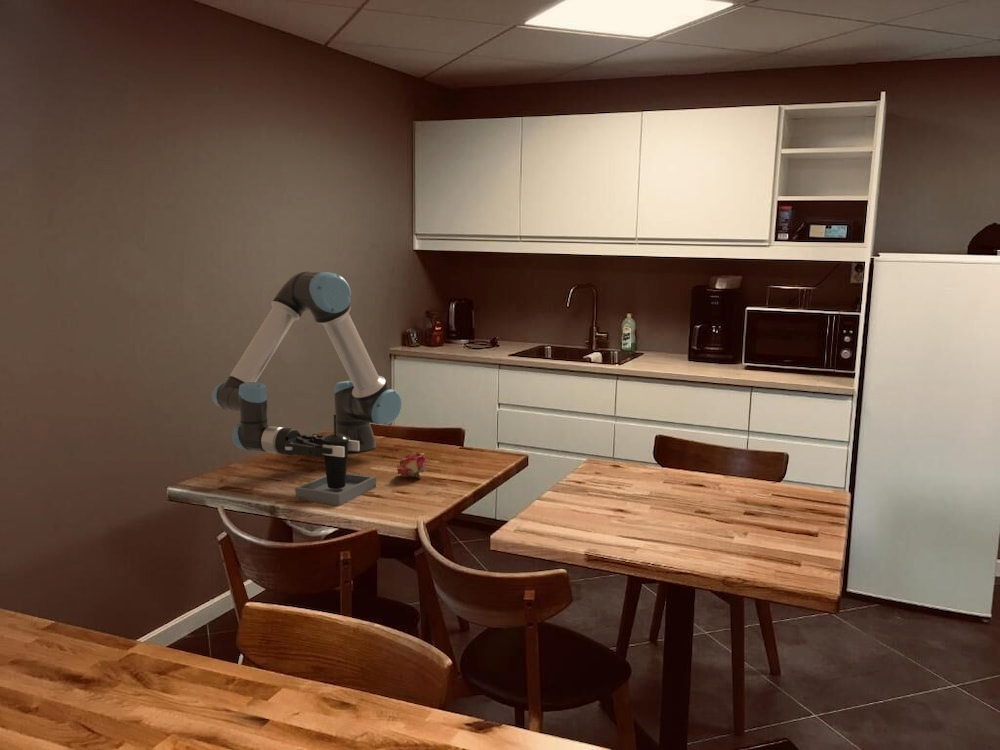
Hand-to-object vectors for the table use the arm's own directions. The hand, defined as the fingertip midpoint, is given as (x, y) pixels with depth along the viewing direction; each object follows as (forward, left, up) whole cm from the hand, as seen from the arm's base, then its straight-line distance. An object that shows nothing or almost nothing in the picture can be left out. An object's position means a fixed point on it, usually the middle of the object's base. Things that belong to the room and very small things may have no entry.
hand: (351, 449), depth 216 cm
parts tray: (0, -5, -13) cm, 14 cm away
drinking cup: (0, -5, -11) cm, 12 cm away
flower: (-22, +6, -13) cm, 26 cm away
